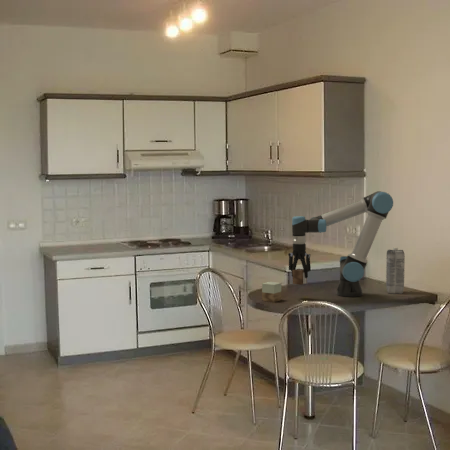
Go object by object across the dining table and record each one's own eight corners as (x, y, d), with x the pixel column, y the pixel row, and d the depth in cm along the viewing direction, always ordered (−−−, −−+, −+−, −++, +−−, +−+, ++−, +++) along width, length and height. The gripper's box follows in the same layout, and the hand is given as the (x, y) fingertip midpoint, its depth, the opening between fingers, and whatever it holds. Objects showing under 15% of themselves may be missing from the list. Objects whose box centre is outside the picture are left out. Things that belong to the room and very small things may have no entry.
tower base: (281, 300, 409) (281, 291, 408) (273, 302, 403) (273, 293, 402) (269, 298, 414) (269, 290, 413) (262, 300, 407) (262, 292, 407)
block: (307, 283, 412) (306, 269, 412) (301, 284, 408) (301, 270, 407) (298, 282, 416) (297, 268, 415) (292, 283, 411) (292, 270, 410)
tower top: (281, 291, 408) (281, 282, 408) (273, 293, 402) (273, 284, 402) (269, 290, 413) (269, 281, 413) (262, 292, 407) (262, 283, 406)
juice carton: (404, 294, 424) (405, 249, 422) (386, 293, 426) (386, 248, 424) (403, 291, 433) (404, 247, 431) (385, 291, 435) (386, 247, 433)
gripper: (281, 243, 412) (282, 282, 414) (310, 244, 401) (310, 285, 403) (288, 241, 418) (289, 280, 420) (316, 243, 407) (317, 283, 409)
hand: (299, 282), depth 412 cm, fingers closed on block, 6 cm apart
